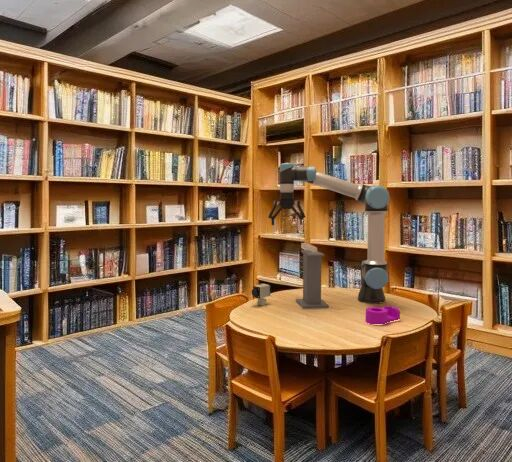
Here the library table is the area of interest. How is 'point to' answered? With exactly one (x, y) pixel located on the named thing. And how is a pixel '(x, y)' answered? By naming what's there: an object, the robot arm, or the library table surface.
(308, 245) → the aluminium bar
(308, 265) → the stand
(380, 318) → the tape dispenser
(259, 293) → the grey camera
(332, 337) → the library table surface
